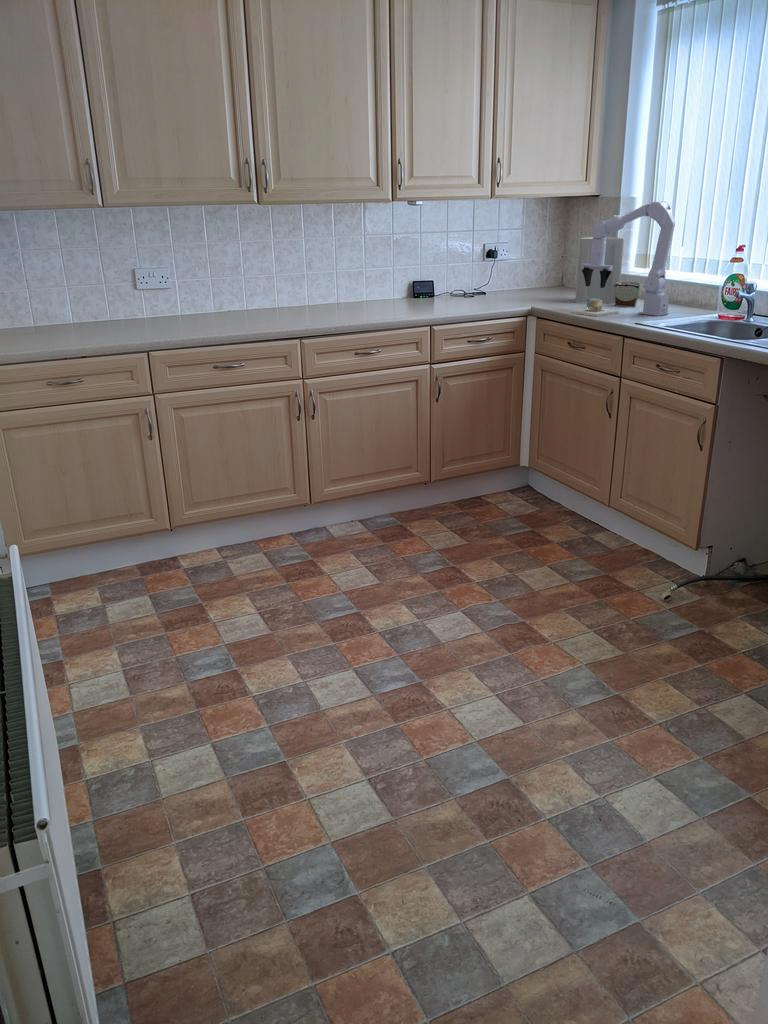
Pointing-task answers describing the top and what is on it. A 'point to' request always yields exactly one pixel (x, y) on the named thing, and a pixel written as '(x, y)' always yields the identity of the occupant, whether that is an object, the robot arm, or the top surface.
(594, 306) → the birch brick
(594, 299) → the teal brick
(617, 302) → the food container
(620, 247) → the tall grey pillar
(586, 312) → the baseplate
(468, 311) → the top surface
